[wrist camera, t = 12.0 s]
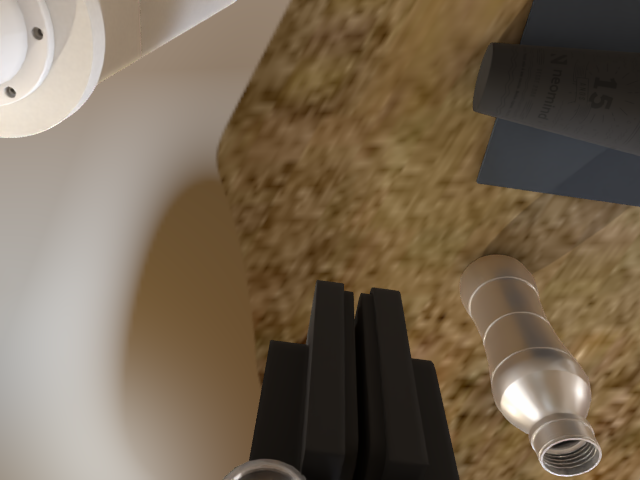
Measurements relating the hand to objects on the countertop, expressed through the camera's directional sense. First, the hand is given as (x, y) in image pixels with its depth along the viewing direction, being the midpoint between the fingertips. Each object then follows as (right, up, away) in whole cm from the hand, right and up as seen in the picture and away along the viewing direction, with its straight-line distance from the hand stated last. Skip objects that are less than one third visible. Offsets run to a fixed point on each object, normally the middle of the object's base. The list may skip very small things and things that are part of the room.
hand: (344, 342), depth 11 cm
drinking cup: (+11, +14, +27) cm, 32 cm away
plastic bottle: (+15, -1, +38) cm, 41 cm away
